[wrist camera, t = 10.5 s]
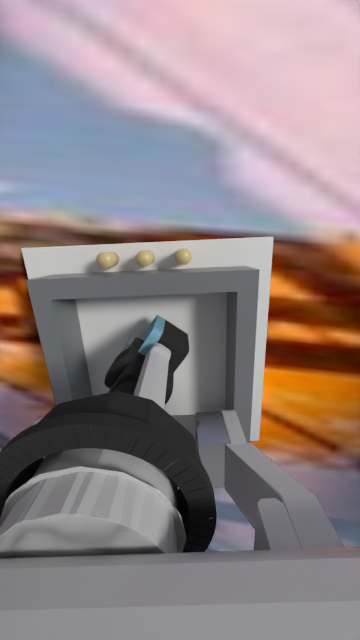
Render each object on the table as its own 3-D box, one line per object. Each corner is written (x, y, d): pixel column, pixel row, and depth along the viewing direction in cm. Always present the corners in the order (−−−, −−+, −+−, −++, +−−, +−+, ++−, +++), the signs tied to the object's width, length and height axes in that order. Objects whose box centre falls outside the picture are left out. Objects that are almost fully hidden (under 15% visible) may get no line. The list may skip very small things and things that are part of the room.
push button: (150, 418, 15) (102, 702, 6) (78, 378, 14) (-123, 635, 5) (211, 341, 14) (285, 557, 4) (133, 290, 13) (-2, 415, 3)
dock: (268, 237, 14) (295, 233, 10) (255, 432, 18) (272, 472, 14) (30, 248, 14) (-15, 247, 11) (72, 439, 18) (49, 480, 15)
